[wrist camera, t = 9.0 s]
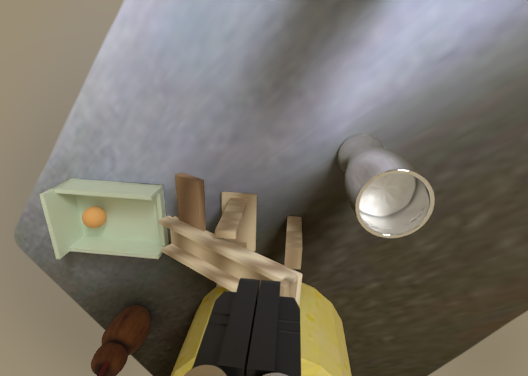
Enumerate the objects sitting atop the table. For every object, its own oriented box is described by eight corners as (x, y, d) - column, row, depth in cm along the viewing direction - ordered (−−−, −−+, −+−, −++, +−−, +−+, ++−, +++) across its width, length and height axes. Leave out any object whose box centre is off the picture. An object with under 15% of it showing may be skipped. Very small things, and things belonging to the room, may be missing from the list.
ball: (99, 200, 47) (76, 206, 45) (108, 207, 45) (84, 214, 43) (103, 219, 48) (80, 226, 46) (111, 226, 46) (88, 234, 44)
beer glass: (342, 187, 42) (364, 249, 28) (327, 141, 40) (343, 182, 26) (394, 171, 41) (444, 227, 27) (381, 121, 39) (428, 155, 25)
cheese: (201, 380, 60) (173, 475, 46) (186, 269, 50) (144, 348, 37) (338, 391, 58) (352, 495, 44) (350, 276, 48) (372, 364, 34)
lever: (308, 215, 29) (289, 229, 27) (299, 307, 34) (282, 327, 31) (171, 169, 40) (148, 175, 37) (177, 244, 44) (157, 254, 42)
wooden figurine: (139, 293, 53) (84, 375, 39) (163, 315, 55) (117, 402, 41) (114, 310, 55) (54, 393, 41) (137, 331, 57) (86, 418, 43)
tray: (70, 178, 46) (39, 194, 40) (163, 185, 45) (144, 202, 39) (83, 236, 50) (56, 258, 44) (168, 244, 49) (152, 267, 43)
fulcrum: (303, 197, 43) (304, 233, 34) (298, 252, 47) (298, 298, 38) (222, 191, 44) (203, 224, 35) (223, 246, 48) (206, 289, 39)
